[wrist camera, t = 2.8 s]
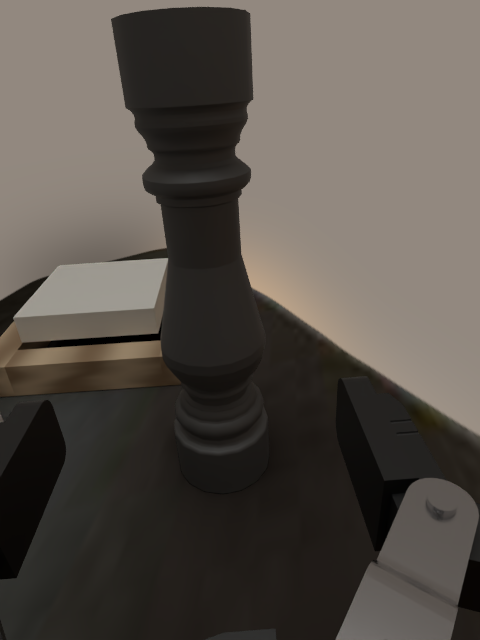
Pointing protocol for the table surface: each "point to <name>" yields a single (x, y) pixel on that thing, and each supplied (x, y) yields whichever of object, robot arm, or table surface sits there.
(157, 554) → the table surface
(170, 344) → the candle holder
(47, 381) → the stand
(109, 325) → the platform
